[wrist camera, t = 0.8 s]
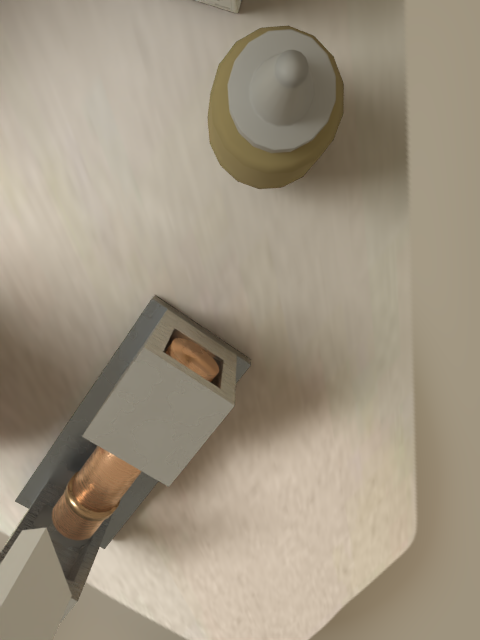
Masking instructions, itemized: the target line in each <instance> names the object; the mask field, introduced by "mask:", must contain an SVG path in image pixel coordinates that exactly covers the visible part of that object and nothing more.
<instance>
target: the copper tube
mask: <svg viewBox="0 0 480 640" xmlns="http://www.w3.org/2000/svg"><path fill="white" fill-rule="evenodd" d="M165 353H166V354H167V355H169V356H170V357H172V358H174V359H175V360H177V361H178V362H180V363H181V364H183V365H184V366H186V367H187V368H189V369H191V370H192V371H194V372H195V373H197V374H198V375H200V376H201V377H203V378H204V379H206V380H208V381H209V382H212V380H213V379H214V378H215V376H216V375H217V374H218V372H219V367H218V365H217V363H216V361H215V360H214V359H213V357H212V356H211V355H210V354H209V353H208V352H207V351H205V350H204V349H203V348H201V347H200V346H199V345H197V344H195V343H193V342H191V341H189V340H187V339H183V338H176V339H174V340H173V341H172V343H171V344H170V346H169V347H168V348H167V350H166V351H165ZM141 472H142V471H140V470H139V469H137V468H135V467H134V466H132V465H130V464H128V463H127V462H125V461H123V460H121V459H120V458H118V457H116V456H115V455H113V454H111V453H109V452H108V451H106V450H104V449H103V448H101V447H99V446H97V447H96V449H95V450H94V452H93V453H92V454H91V456H90V457H89V459H88V460H87V461H86V463H85V464H84V466H83V467H82V468H81V470H80V471H78V472H76V473H75V474H74V475H73V477H72V478H71V479H70V481H69V482H68V484H67V486H66V488H65V492H64V493H63V495H62V496H61V498H60V499H59V500H58V502H57V503H56V505H55V506H54V508H53V511H52V521H53V524H54V526H55V528H56V529H57V530H58V532H59V533H60V534H62V535H63V536H65V537H66V538H69V539H72V540H85V539H87V538H89V537H91V536H92V535H93V534H94V533H95V532H96V530H97V529H98V528H99V526H100V525H101V524H102V522H103V521H104V520H105V519H107V518H109V517H110V516H111V515H112V514H113V512H114V511H115V510H116V508H117V507H118V505H119V503H120V499H121V498H122V497H123V495H124V494H125V493H126V491H127V490H128V489H129V488H130V486H131V485H132V484H133V482H134V481H135V480H136V478H137V477H138V476H139V475H140V473H141Z"/></svg>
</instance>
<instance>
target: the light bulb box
mask: <svg viewBox="0 0 480 640" xmlns="http://www.w3.org/2000/svg"><path fill="white" fill-rule="evenodd" d="M195 1H198V2H202V3H205V4H208V5H211V6H214V7H218V8H221V9H224V10H227V11H231V12H234V13H237V12H238V11H239V8H240V4H241V0H195Z"/></svg>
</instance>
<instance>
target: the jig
mask: <svg viewBox="0 0 480 640" xmlns="http://www.w3.org/2000/svg"><path fill="white" fill-rule="evenodd" d="M176 338H183V339H187V340H189V341H191V342H193V343H195V344H197V345H199V346H200V347H201V348H203V349H204V350H205V351H207V352H208V353H209V354H210V355H211V356H212V357H213V359H214V360H215V361H216V363H217V365H218V367H219V372H218V374H217V375H216V376H215V378H214V379H213V380H212V382H209V381H208V380H206V379H204V378H203V377H201V376H200V375H198V374H197V373H195V372H194V371H192V370H191V369H189V368H187V367H186V366H184V365H183V364H181V363H180V362H178V361H177V360H175V359H174V358H172V357H170V356H169V355H167V354H166V353H165V351H166V350H167V348H168V347H169V346H170V344H171V343H172V341H173V340H174V339H176ZM250 365H251V359H249V358H248V357H246V356H245V355H243V354H242V353H240V352H239V351H238V350H236V349H235V348H233V347H232V346H230V345H229V344H227V343H226V342H224V341H223V340H221V339H220V338H218V337H217V336H215V335H214V334H212V333H211V332H209V331H208V330H206V329H205V328H203V327H202V326H200V325H199V324H197V323H196V322H194V321H193V320H191V319H190V318H188V317H187V316H185V315H184V314H182V313H181V312H179V311H178V310H176V309H175V308H173V307H172V306H170V305H169V304H167V303H166V302H165V301H163V300H162V299H160V298H159V297H157V296H156V295H155V296H154V297H153V298H152V300H151V301H150V303H149V304H148V305H147V307H146V308H145V310H144V311H143V313H142V314H141V316H140V317H139V319H138V320H137V322H136V323H135V325H134V326H133V328H132V329H131V331H130V332H129V334H128V335H127V336H126V338H125V339H124V341H123V342H122V344H121V345H120V347H119V348H118V350H117V351H116V353H115V354H114V356H113V357H112V359H111V360H110V362H109V363H108V365H107V366H106V367H105V369H104V370H103V372H102V373H101V375H100V376H99V378H98V379H97V381H96V382H95V384H94V385H93V387H92V388H91V390H90V391H89V393H88V394H87V396H86V397H85V398H84V400H83V401H82V403H81V404H80V406H79V407H78V409H77V410H76V412H75V413H74V415H73V416H72V418H71V419H70V421H69V422H68V424H67V425H66V426H65V428H64V429H63V431H62V432H61V434H60V435H59V437H58V438H57V440H56V441H55V443H54V444H53V446H52V447H51V449H50V450H49V452H48V453H47V455H46V456H45V457H44V459H43V460H42V462H41V463H40V465H39V466H38V468H37V469H36V471H35V472H34V474H33V475H32V477H31V478H30V480H29V481H28V483H27V484H26V486H25V487H24V488H23V490H22V491H21V493H20V494H19V496H18V497H17V499H16V500H15V502H17V503H19V504H21V505H23V506H25V507H27V508H29V509H28V511H27V512H26V514H25V515H24V517H23V518H22V520H21V521H20V523H19V524H18V526H17V527H16V529H15V530H14V532H13V533H12V535H11V536H10V538H9V539H8V541H7V542H6V544H5V546H4V547H3V548H2V550H1V551H0V564H1V563H2V561H3V559H4V558H5V556H6V555H7V553H8V552H9V550H10V549H11V547H12V545H13V544H14V542H15V541H16V539H17V538H18V536H19V534H20V533H21V531H22V530H30V529H38V528H47V530H48V533H49V536H50V538H51V541H52V544H53V547H54V549H55V552H56V555H57V557H58V560H59V563H60V565H61V568H62V571H63V573H64V576H65V579H66V581H67V584H68V587H69V589H70V592H71V595H72V596H71V598H70V600H69V603H68V605H67V608H66V610H65V612H64V615H63V617H62V620H63V619H64V618H65V616H66V615H67V614H68V613H69V612H70V610H71V609H72V608H73V607H74V606H75V604H76V603H77V602H78V600H79V597H80V595H81V592H82V590H83V587H84V585H85V582H86V580H87V577H88V575H89V572H90V570H91V567H92V565H93V562H94V560H95V557H96V555H97V552H98V549H99V547H102V548H104V549H105V548H106V547H107V545H108V544H109V543H110V542H111V540H112V539H113V538H114V537H115V535H116V534H117V533H118V531H119V530H120V529H121V528H122V526H123V525H124V524H125V523H126V521H127V520H128V519H129V518H130V516H131V515H132V514H133V513H134V511H135V510H136V509H137V508H138V506H139V505H140V504H141V503H142V501H143V500H144V499H145V498H146V496H147V495H148V494H149V493H150V491H151V490H152V489H153V487H154V486H155V485H156V484H157V482H158V481H159V482H161V483H163V484H164V485H166V486H168V487H169V486H170V485H171V484H172V483H173V481H174V480H175V479H176V478H177V476H178V475H179V474H180V473H181V471H182V470H183V469H184V468H185V466H186V465H187V464H188V463H189V462H190V460H191V459H192V458H193V457H194V455H195V454H196V453H197V452H198V450H199V449H200V448H201V447H202V445H203V444H204V443H205V442H206V441H207V439H208V438H209V437H210V436H211V434H212V433H213V432H214V431H215V429H216V428H217V427H218V426H219V424H220V423H221V422H222V421H223V419H224V418H225V417H226V416H227V415H228V413H229V412H230V411H231V410H232V408H233V407H234V406H235V386H236V383H237V382H238V381H239V379H240V378H241V377H242V376H243V374H244V373H245V372H246V371H247V369H248V368H249V367H250ZM97 446H99V447H101V448H103V449H104V450H106V451H108V452H109V453H111V454H113V455H115V456H116V457H118V458H120V459H121V460H123V461H125V462H127V463H128V464H130V465H132V466H134V467H135V468H137V469H139V470H140V471H142V472H141V473H140V475H139V476H138V477H137V478H136V480H135V481H134V482H133V484H132V485H131V486H130V488H129V489H128V490H127V491H126V493H125V494H124V495H123V497H122V498H121V499H120V503H119V505H118V507H117V508H116V510H115V511H114V512H113V514H112V515H111V516H110V517H109V518H107V519H105V520H104V521H103V522H102V524H101V525H100V526H99V528H98V529H97V530H96V532H95V533H94V534H93V535H92V536H91V537H89V538H87V539H85V540H72V539H69V538H66V537H65V536H63V535H62V534H60V533H59V532H58V530H57V529H56V528H55V526H54V524H53V521H52V511H53V508H54V506H55V505H56V503H57V502H58V500H59V499H60V498H61V496H62V495H63V493H64V492H65V488H66V486H67V484H68V482H69V481H70V479H71V478H72V477H73V475H74V474H75V473H76V472H78V471H80V470H81V468H82V467H83V466H84V464H85V463H86V461H87V460H88V459H89V457H90V456H91V454H92V453H93V452H94V450H95V449H96V447H97ZM62 620H61V622H62ZM61 622H60V623H61Z"/></svg>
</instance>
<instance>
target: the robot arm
mask: <svg viewBox="0 0 480 640" xmlns="http://www.w3.org/2000/svg"><path fill="white" fill-rule="evenodd" d="M71 596H72V595H71V592H70V589H69V587H68V584H67V581H66V579H65V576H64V573H63V571H62V568H61V565H60V563H59V560H58V557H57V555H56V552H55V549H54V547H53V544H52V541H51V538H50V536H49V533H48V530H47V528H38V529H30V530H22V531H21V533H20V534H19V536H18V538H17V539H16V541H15V542H14V544H13V545H12V547H11V549H10V550H9V552H8V553H7V555H6V556H5V558H4V559H3V561H2V563H1V564H0V640H53V639H54V636H55V634H56V631H57V629H58V627H59V624H60V622H61V620H62V617H63V615H64V612H65V610H66V608H67V605H68V603H69V600H70V598H71Z"/></svg>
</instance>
